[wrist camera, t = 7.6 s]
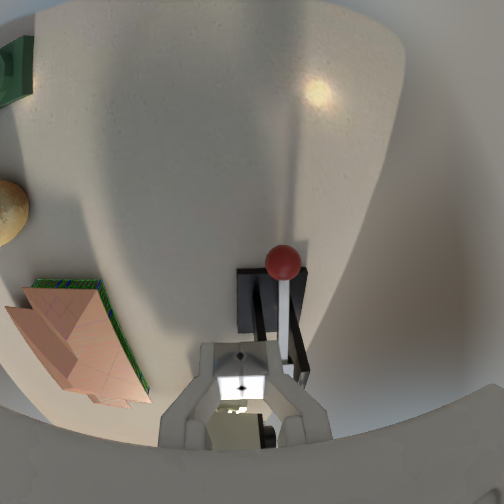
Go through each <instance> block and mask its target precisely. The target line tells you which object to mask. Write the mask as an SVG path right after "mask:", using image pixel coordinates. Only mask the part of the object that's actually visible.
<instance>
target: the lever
mask: <svg viewBox="0 0 504 504" xmlns="http://www.w3.org/2000/svg"><path fill="white" fill-rule="evenodd" d="M265 266H266V269H267V272H268V273H269V275H270V276H271V277H273V278H274V279H276V280H277V341H278V342H279V348H280V354H281V359H282V365H283V371H284V374H289V375H290V376H291V377H292V378H293V379H294V363H293V361H292V358H291V356H290V355H288V344H289V288H290V279H292V278H294V277H295V276H296V275H297V274H298V273H299V271H300V268H301V258H300V255H299V253H298V252H297V251H296V250H295V249H294V248H293V247H291V246H288V245H279V246H276V247H274V248H272V249H271V250H270V251H269V253H268V254H267V256H266V260H265Z"/></svg>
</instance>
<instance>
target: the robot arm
mask: <svg viewBox="0 0 504 504" xmlns="http://www.w3.org/2000/svg"><path fill="white" fill-rule="evenodd" d="M256 398H263V399H264V401H265V402H266V403H267V404H268V406H269V407H270V408H271V409H272V411H273V412H274V413H275V414H276V415H277V417H278V418H279V419H280V420H281V421H282V426H281V430H280V434H279V437H278V440H277V442H278V448H268V449H254V450H212V441H211V439H210V436H209V433H208V431H207V428H206V424H207V422H208V421H209V419H210V418H211V416H212V415H213V413H214V412H215V410H216V409H217V407H218V406H219V404H220V402H221V400H230V399H256ZM0 504H504V389H503V388H502V387H500V386H498V385H496V384H489V385H486V386H485V387H483V388H481V389H479V390H477V391H475V392H473V393H471V394H469V395H467V396H465V397H463V398H461V399H459V400H456V401H454V402H452V403H449V404H447V405H445V406H442V407H440V408H438V409H435V410H433V411H430V412H428V413H425V414H422V415H420V416H417V417H414V418H411V419H408V420H405V421H402V422H399V423H396V424H394V425H390V426H387V427H383V428H380V429H376V430H372V431H369V432H365V433H361V434H357V435H353V436H348V437H343V438H339V439H334V440H333V437H332V432H331V428H330V424H329V420H328V416H327V411H326V410H325V409H324V408H323V407H322V406H321V405H320V404H319V403H318V402H317V401H316V400H315V399H313V398H312V397H311V396H310V395H309V394H308V393H307V392H306V391H305V390H304V389H303V388H302V387H301V386H300V385H299V384H298V383H297V382H296V381H295V380H294V379H293V378H292V377H291V376H290V375H289V374H284V371H283V365H282V359H281V354H280V348H279V342H278V341H277V340H272V341H252V342H239V343H201V346H200V361H199V376H198V377H195V378H194V379H193V380H192V381H191V382H190V383H189V385H188V386H187V387H186V388H185V389H184V391H183V392H182V393H181V394H180V395H179V396H178V398H177V399H176V400H175V401H174V402H173V403H172V405H171V406H170V407H169V408H168V409H167V410H166V411H165V413H164V414H163V415H162V416H161V420H160V429H159V438H158V447H152V446H144V445H137V444H130V443H124V442H119V441H113V440H108V439H103V438H99V437H94V436H90V435H86V434H82V433H78V432H74V431H71V430H67V429H64V428H60V427H57V426H54V425H50V424H48V423H45V422H42V421H39V420H36V419H33V418H31V417H28V416H26V415H23V414H21V413H18V412H15V411H13V410H11V409H9V408H6V407H4V406H2V405H0Z"/></svg>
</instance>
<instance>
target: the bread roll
mask: <svg viewBox="0 0 504 504" xmlns="http://www.w3.org/2000/svg"><path fill="white" fill-rule="evenodd" d="M28 213H29V200H28V198H27V195H26V194H25V192H24V191H23V190H22V189H21V187H19V186H18V185H17V184H15V183H12V182H10V181H6V180H0V246H3V245H5V244H6V243H8V242H9V241H11V240H12V239H13V238H14V237H15V236H16V235H17V234H18V233H19V232H20V231H21V229H22V228H23V226H24V225H25V224H26V221H27V218H28Z"/></svg>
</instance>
